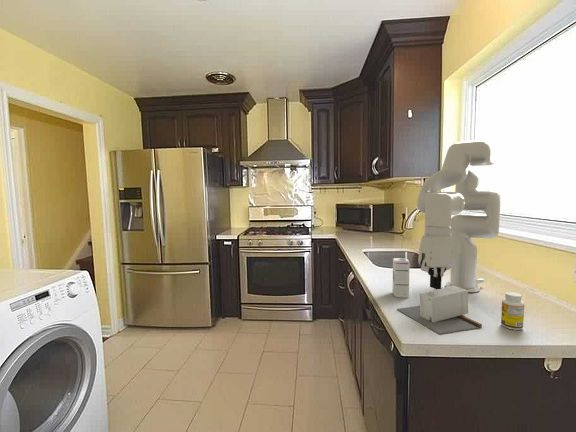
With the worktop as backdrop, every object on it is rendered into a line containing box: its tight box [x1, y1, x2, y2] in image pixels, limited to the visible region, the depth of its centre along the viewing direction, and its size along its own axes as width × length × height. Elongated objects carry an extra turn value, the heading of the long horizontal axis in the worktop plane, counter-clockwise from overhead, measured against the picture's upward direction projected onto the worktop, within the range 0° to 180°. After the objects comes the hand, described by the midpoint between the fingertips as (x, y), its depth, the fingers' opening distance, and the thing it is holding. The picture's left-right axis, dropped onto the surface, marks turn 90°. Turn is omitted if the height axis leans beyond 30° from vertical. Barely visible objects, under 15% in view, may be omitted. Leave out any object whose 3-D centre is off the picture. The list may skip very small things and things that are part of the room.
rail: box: [456, 315, 483, 329], centre depth 104 cm, size 1×20×1 cm, turn 17°
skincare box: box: [419, 286, 469, 323], centre depth 102 cm, size 8×6×15 cm
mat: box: [396, 305, 479, 335], centre depth 102 cm, size 14×20×1 cm
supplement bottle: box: [500, 291, 525, 331], centre depth 95 cm, size 6×6×10 cm
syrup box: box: [392, 257, 410, 299], centre depth 125 cm, size 6×6×14 cm
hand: (435, 287), depth 101 cm, fingers closed
